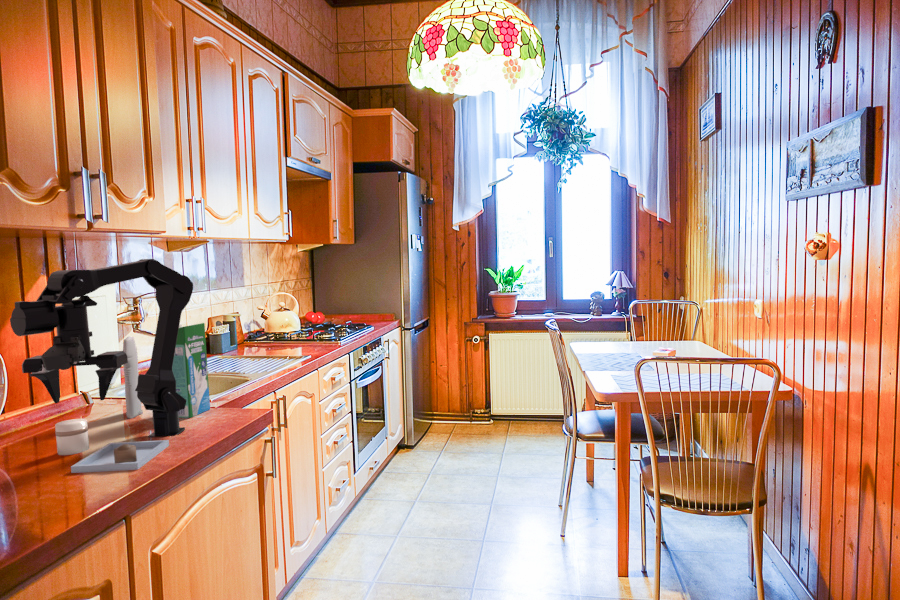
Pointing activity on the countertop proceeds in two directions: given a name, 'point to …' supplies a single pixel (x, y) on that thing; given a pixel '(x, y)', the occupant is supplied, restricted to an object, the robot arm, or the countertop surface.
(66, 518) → the countertop surface
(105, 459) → the tray
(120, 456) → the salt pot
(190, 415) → the milk carton
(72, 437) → the cream lidded jar
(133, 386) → the tall pale column
